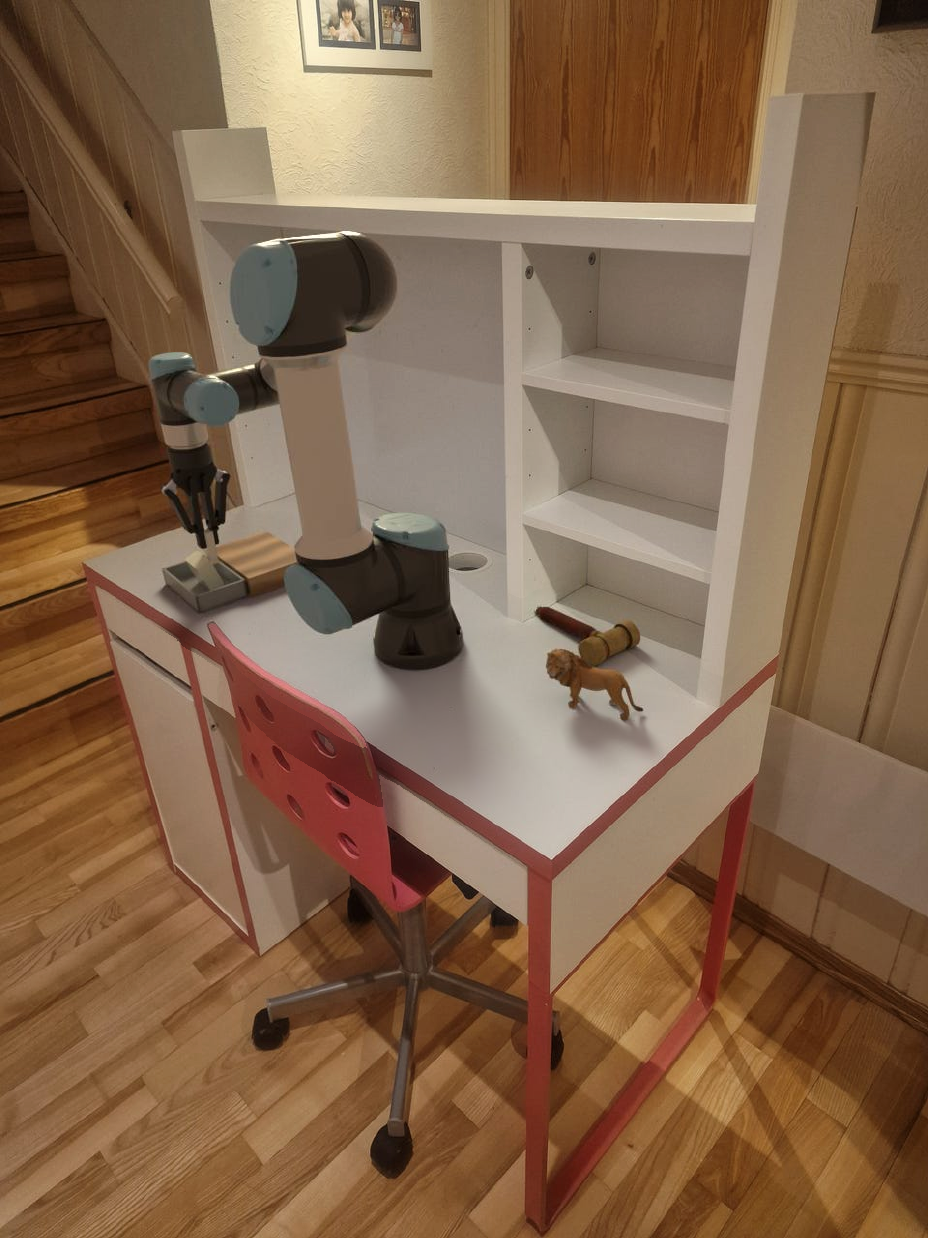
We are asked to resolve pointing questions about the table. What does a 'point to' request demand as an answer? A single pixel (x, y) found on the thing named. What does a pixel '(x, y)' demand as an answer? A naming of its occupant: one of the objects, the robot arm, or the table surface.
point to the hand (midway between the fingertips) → (212, 561)
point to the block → (204, 571)
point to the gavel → (594, 635)
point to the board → (258, 561)
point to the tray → (197, 594)
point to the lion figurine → (588, 679)
